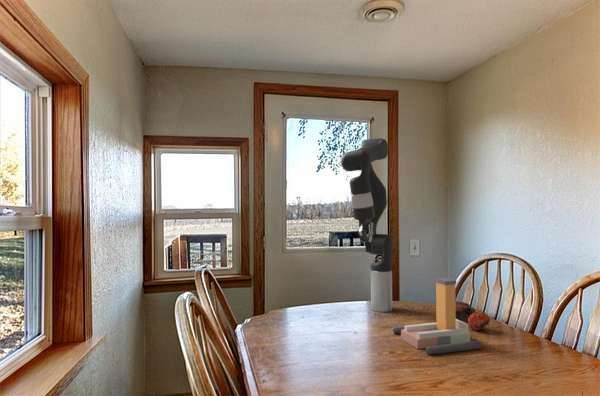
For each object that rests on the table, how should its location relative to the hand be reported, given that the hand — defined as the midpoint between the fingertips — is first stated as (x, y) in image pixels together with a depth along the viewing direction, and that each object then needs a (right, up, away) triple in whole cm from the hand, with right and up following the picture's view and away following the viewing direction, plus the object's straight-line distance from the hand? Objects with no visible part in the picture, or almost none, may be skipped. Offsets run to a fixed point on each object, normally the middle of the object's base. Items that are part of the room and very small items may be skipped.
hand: (369, 251), depth 141 cm
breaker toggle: (+25, -26, -9) cm, 37 cm away
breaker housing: (+20, -29, -11) cm, 37 cm away
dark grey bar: (+23, -29, -20) cm, 42 cm away
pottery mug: (+40, -30, +13) cm, 51 cm away
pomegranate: (+41, -29, 0) cm, 50 cm away
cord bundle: (+18, -29, -1) cm, 34 cm away
